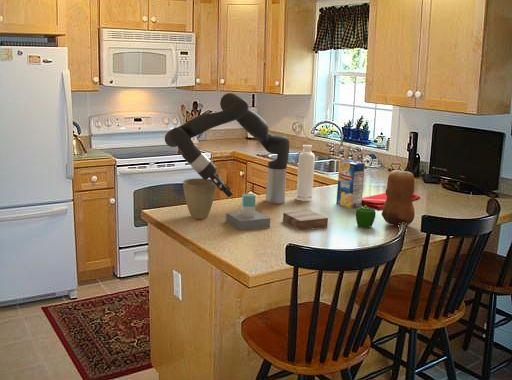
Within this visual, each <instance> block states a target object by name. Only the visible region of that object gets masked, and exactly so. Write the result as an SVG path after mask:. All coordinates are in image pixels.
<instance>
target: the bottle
mask: <svg viewBox="0 0 512 380" xmlns="http://www.w3.org/2000/svg"><path fill="white" fill-rule="evenodd" d="M312 147H313V145H312V144H303V145H302V152H300V153H299V154H298V160H297V161H298V163H297V164H298V165H297V177H296V178H297V179H296V180H297V181H296V198H295V200H297V201H300V200H301V201H300V202H310V201H313V190H314V177H315V176H314V175H315V162H316V161H315V159H316V158H315V157H316V156H315V154H314V153H313V151H312ZM301 197H302V198H301Z"/></svg>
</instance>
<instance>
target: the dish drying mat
mask: <svg viewBox="0 0 512 380" xmlns="http://www.w3.org/2000/svg"><path fill="white" fill-rule="evenodd" d="M386 198H387V195H386V192H382V193H378V194H374V195H370V196H364V197H362V205H361V207H362V208H365V207H364V206H365V205H367V209H368V208H371V209H372V210H375V211H381V210H383V205H384V203H385V201H386ZM416 199H417V200H419V199H421V196H420V195H418V194H415V192H414V193H413V197H412V202H413V200H414V201H416Z"/></svg>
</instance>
